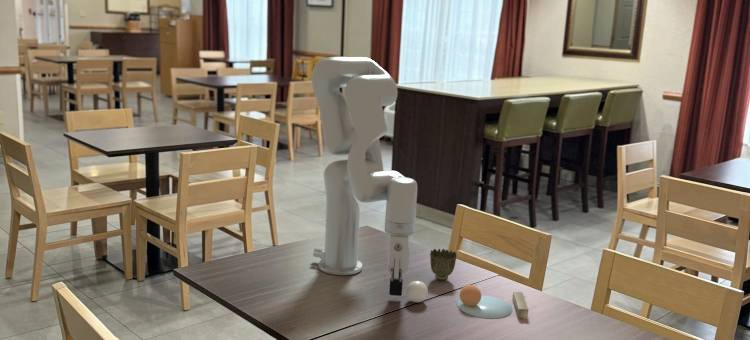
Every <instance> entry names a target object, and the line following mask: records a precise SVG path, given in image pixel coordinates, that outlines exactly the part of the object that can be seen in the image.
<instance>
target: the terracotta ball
mask: <svg viewBox="0 0 750 340" xmlns="http://www.w3.org/2000/svg"><path fill="white" fill-rule="evenodd" d="M481 295H482V292H481V290H480V288H479V287H478V286H476V285H475V284H466V285H465V286H463V287H462V288H461V290H460V291H459V299H461V301H462V303H463V304H464V305H466V306H475V305H477V304H478V303H479V302H480V300H481Z"/></svg>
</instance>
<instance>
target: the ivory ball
mask: <svg viewBox="0 0 750 340" xmlns="http://www.w3.org/2000/svg"><path fill="white" fill-rule="evenodd" d="M428 293H429V292H428V287H427V285H426V284H425V283H424V282H423V281H420V280H414V281H411V282H410V283H409V284H408V285H407V288H406V296H407V299H409V301H411V302H413V303H421V302H424V300H426V299H427V297H428Z"/></svg>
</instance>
